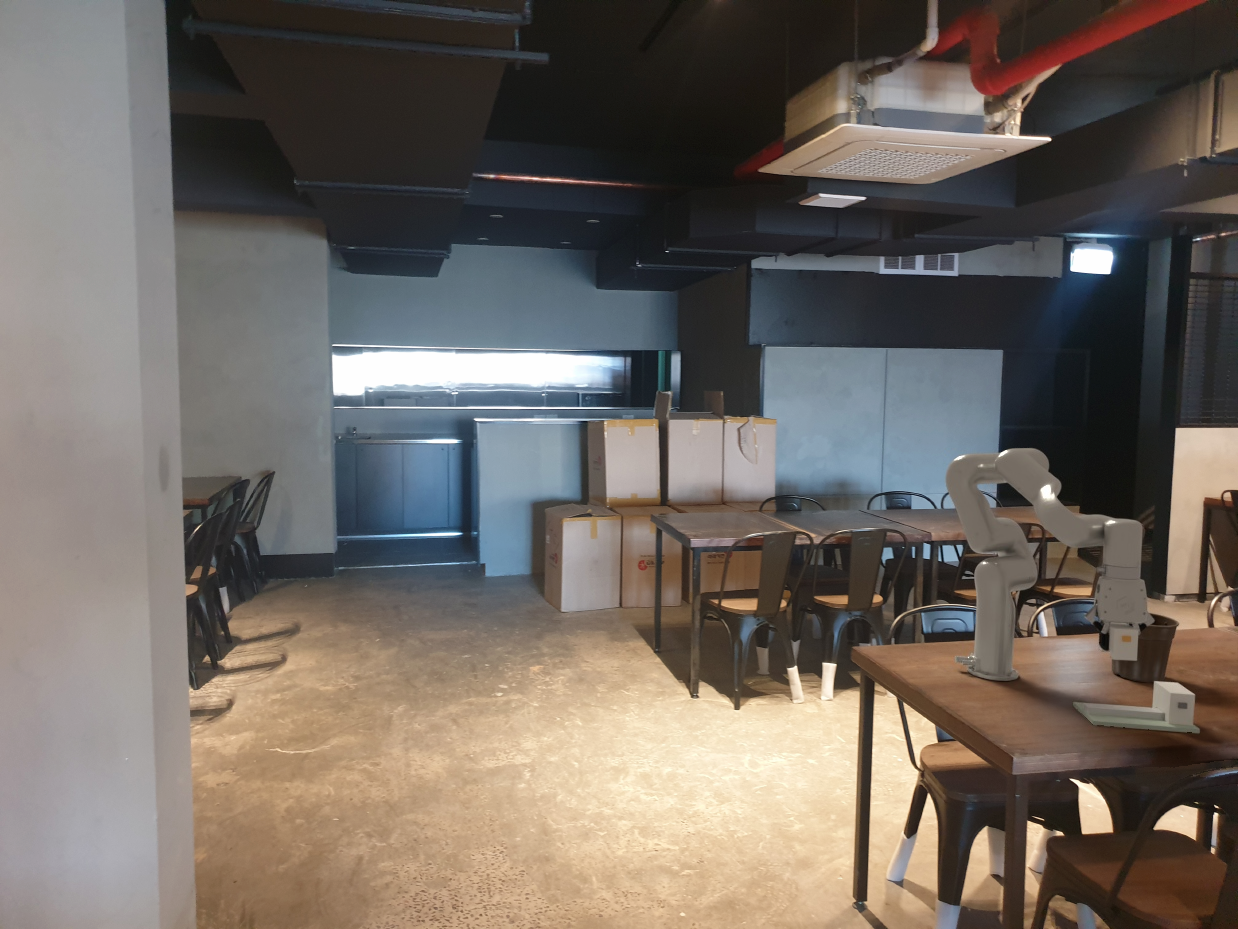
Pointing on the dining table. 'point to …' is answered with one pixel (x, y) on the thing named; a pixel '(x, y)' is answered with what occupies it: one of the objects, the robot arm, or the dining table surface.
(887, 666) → the dining table surface
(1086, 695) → the dining table surface
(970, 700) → the dining table surface
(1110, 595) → the robot arm
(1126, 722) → the din panel
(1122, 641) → the block
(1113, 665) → the plant pot
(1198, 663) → the dining table surface
